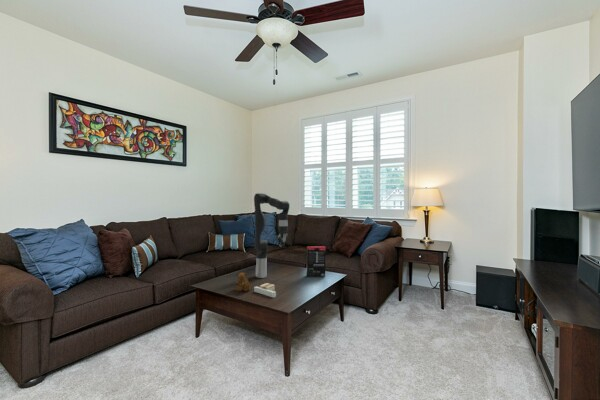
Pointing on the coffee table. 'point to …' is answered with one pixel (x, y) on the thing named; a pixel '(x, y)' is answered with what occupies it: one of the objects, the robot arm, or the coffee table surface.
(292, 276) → the coffee table surface
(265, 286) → the maple block
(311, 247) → the graphics card box
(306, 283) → the coffee table surface
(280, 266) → the coffee table surface
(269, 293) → the board
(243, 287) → the stuffed squirrel
